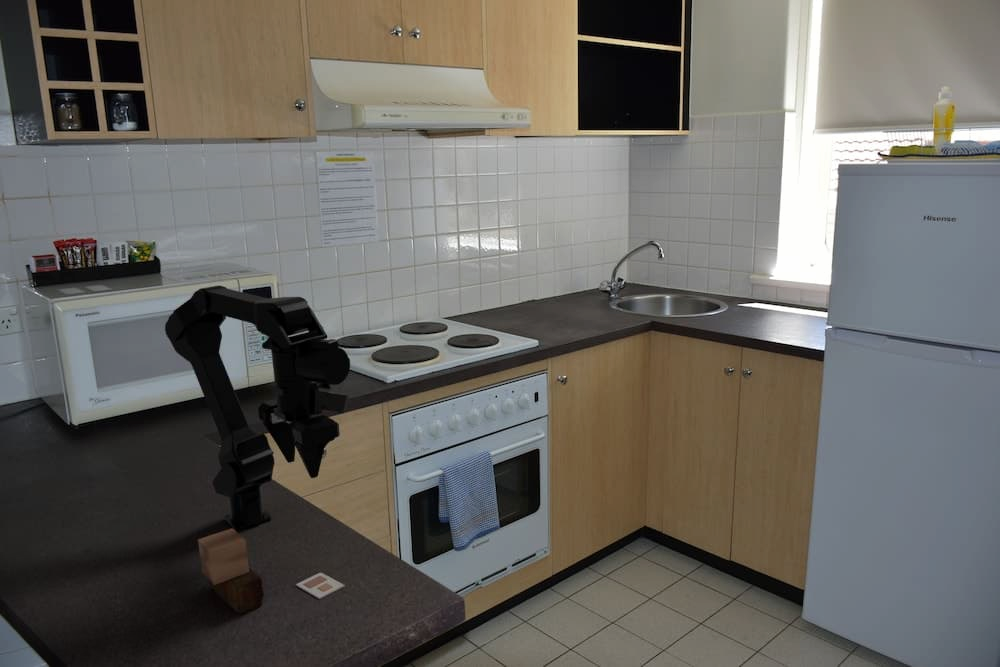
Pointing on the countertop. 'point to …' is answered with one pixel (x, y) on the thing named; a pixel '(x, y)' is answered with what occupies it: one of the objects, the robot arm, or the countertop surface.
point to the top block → (223, 556)
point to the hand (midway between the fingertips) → (302, 469)
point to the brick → (241, 591)
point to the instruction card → (320, 585)
